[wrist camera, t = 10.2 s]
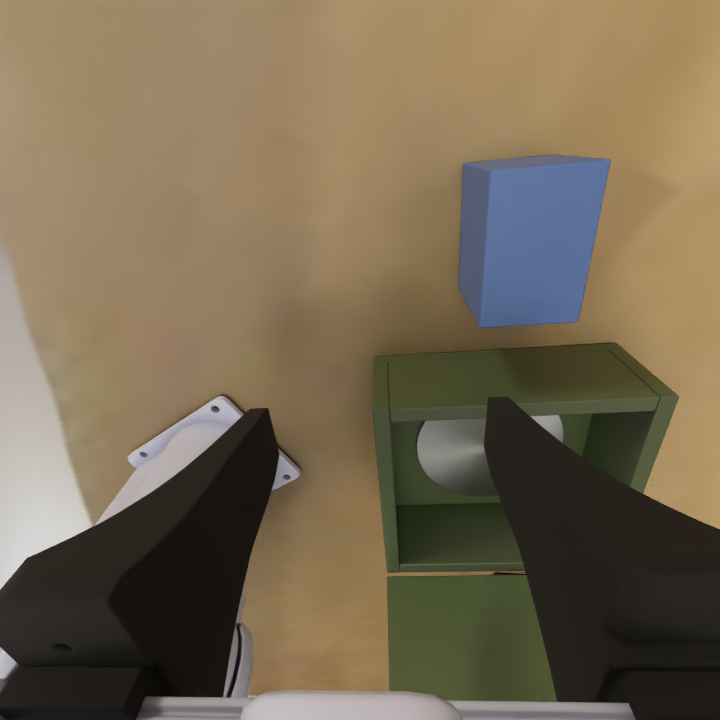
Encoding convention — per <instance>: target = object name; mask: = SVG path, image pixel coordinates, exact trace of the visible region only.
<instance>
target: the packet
mask: <svg viewBox="0 0 720 720" xmlns="http://www.w3.org/2000/svg"><path fill="white" fill-rule="evenodd" d="M610 162H611V161H610V159H602V158H589V157H576V156H563V155H544V156H533V157H523V158H512V159H502V160H491V161H481V162H470V163H464V164H463V181H462V208H461V236H460V263H459V290H460V292H461V294H462V296H463V298H464V300H465V301H466V303H467V305H468V307H469V309H470V311H471V312H472V314H473V316H474V318H475V320H476V322H477V324H478V325H479V327H480V328H489V327H506V326H522V325H538V324H554V323H571V322H578V320H579V315H580V311H581V306H582V301H583V296H584V291H585V286H586V281H587V276H588V271H589V266H590V261H591V256H592V251H593V246H594V241H595V236H596V231H597V226H598V221H599V216H600V211H601V206H602V201H603V196H604V191H605V186H606V181H607V176H608V171H609V167H610Z"/></svg>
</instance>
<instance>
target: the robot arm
mask: <svg viewBox="0 0 720 720" xmlns="http://www.w3.org/2000/svg"><path fill="white" fill-rule="evenodd" d="M214 406H217V407H218V408H219V409H216V408H215V407H214ZM484 450H485V454H486V458H487V463H488V466H489V470H490V474H491V477H492V480H493V482H494V485H495V488H496V490H497V493H498V496H499V498H500V501H501V503H502V506H503V508H504V511H505V513H506V516H507V519H508V521H509V524H510V526H511V529H512V531H513V534H514V537H515V539H516V542H517V545H518V548H519V551H520V554H521V558H522V561H523V565H524V569H525V572H526V576H527V579H528V583H529V587H530V590H531V594H532V598H533V602H534V606H535V610H536V613H537V617H538V621H539V625H540V629H541V634H542V638H543V642H544V646H545V650H546V654H547V658H548V663H549V667H550V672H551V676H552V680H553V685H554V689H555V694H556V698H557V702H527V701H451V700H443V699H441V698H439V697H437V696H435V695H431V694H424V693H416V692H409V691H336V690H282V691H273V692H265V693H262V694H260V695H259V696H257V697H255V698H247V697H248V694H249V690H250V685H251V680H252V673H253V641H252V636H251V632H250V630H249V628H248V627H247V626H246V625H245V624H243V623H241V622H239V621H240V618H241V614H242V611H243V607H244V604H245V600H246V599H245V598H244V597H243V596H241V595H242V590H243V585H244V581H245V576H246V572H247V568H248V563H249V559H250V555H251V552H252V548H253V545H254V541H255V539H256V536H257V533H258V530H259V527H260V524H261V521H262V518H263V515H264V512H265V509H266V506H267V503H268V500H269V497H270V494H271V491H273V490H275V489H277V488H279V487H281V486H283V485H285V484H287V483H289V482H291V481H293V480H295V479H297V478H298V477H299V475H300V469H299V468H298V467H297V466H296V465H295V464H294V463H293V462H292V461H291V460H290V459H289V458H288V457H287V456H286V455H285V454H284V453H283V452H282V451H281V450H280V449H279V448H278V446H277V442H276V438H275V434H274V430H273V426H272V422H271V418H270V414H269V410H268V408H256V409H250V410H248V411H247V412H246V413H245V414H243V413H242V412H241V411H240V410H239V409H238V408H237V407H236V406H235V405H234V404H233V403H232V402H231V401H230V400H229V399H228V398H226V397H224V396H219V397H217V398H215V399H214V400H212V401H210V402H209V403H207V404H206V405H204V406H203V407H201V408H200V409H198V410H197V411H195V412H193V413H192V414H190V415H189V416H187V417H186V418H184V419H183V420H181V421H179V422H178V423H176V424H175V425H173V426H172V427H170V428H169V429H167V430H166V431H164V432H162V433H161V434H159V435H158V436H156V437H155V438H153V439H152V440H150V441H149V442H147V443H145V444H144V445H142V446H141V447H139V448H138V449H136V450H135V451H133V452H131V454H130V455H129V456H128V461H129V462H130V463H131V464H132V465H133V466H134V467H136V468H137V469H136V470H135V471H134V473H133V474H132V475H131V477H130V478H129V480H128V481H127V482H126V484H125V485H124V486H123V488H122V489H121V490H120V492H119V493H118V494H117V496H116V497H115V498H114V500H113V501H112V502H111V504H110V505H109V507H108V508H107V509H106V511H105V512H104V513H103V515H102V516H101V517H100V519H99V520H98V521H97V523H96V524H95V525H94V526H93V527H91V528H89V529H88V530H86V531H84V532H82V533H80V534H78V535H76V536H74V537H72V538H70V539H68V540H65V541H64V542H61V543H59V544H57V545H55V546H53V547H50V548H48V549H46V550H44V551H42V552H40V553H38V554H36V555H33V556H31V557H28V558H27V559H26V560H25V561H24V563H23V564H22V565H21V566H20V567H19V568H18V570H17V571H16V572H15V573H14V574H13V575H12V577H11V578H10V579H9V580H8V581H7V583H6V584H5V585H4V586H3V587H2V588H1V590H0V720H720V529H717V528H715V527H712V526H710V525H707V524H705V523H703V522H700V521H698V520H696V519H694V518H692V517H689V516H687V515H685V514H683V513H681V512H678V511H676V510H674V509H672V508H670V507H668V506H666V505H664V504H662V503H660V502H658V501H656V500H654V499H652V498H650V497H648V496H646V495H644V494H642V493H640V492H639V491H637V490H635V489H633V488H631V487H629V486H627V485H626V484H624V483H622V482H620V481H619V480H617V479H615V478H614V477H612V476H610V475H609V474H607V473H606V472H604V471H602V470H601V469H599V468H598V467H596V466H594V465H593V464H591V463H590V462H588V461H587V460H585V459H584V458H582V457H581V456H580V455H578V454H577V453H576V452H574V451H573V450H571V449H570V448H569V447H567V446H566V445H565V444H563V443H562V442H561V441H559V440H558V439H557V438H556V437H554V436H553V435H552V434H551V433H549V432H548V431H547V430H546V429H544V428H543V427H542V426H541V425H540V424H538V423H537V422H536V421H535V420H534V419H533V418H532V417H530V416H529V415H528V414H527V413H526V412H525V411H524V410H522V409H521V408H520V407H519V406H518V405H517V404H516V403H515V402H513V401H512V400H511V399H510V398H509V397H488V403H487V415H486V426H485V438H484ZM286 474H287V475H289V476H287V475H286Z"/></svg>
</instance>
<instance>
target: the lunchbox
mask: <svg viewBox="0 0 720 720" xmlns="http://www.w3.org/2000/svg"><path fill="white" fill-rule="evenodd" d="M488 397H509V398H510V399H511V400H512V401H513V402H515V403H516V404H517V405H518V406H519V407H520V408H521V409H522V410H524V411H525V412H526V413H527V414H528V415H529V416H550V415H559V416H560V419H561V421H562V425H563V430H564V438H563V444H565V445H566V446H567V447H569V448H570V449H571V450H573V451H574V452H576V453H577V454H578V455H580V456H581V457H582V458H584V459H585V460H587V461H588V462H590V463H591V464H593V465H594V466H596V467H598V468H599V469H601V470H602V471H604V472H606V473H607V474H609V475H610V476H612V477H614V478H615V479H617V480H619V481H620V482H622V483H624V484H626V485H627V486H629V487H631V488H633V489H635V490H637V491H639V492H640V493H642V494H643V492H644V489H645V486H646V484H647V481H648V478H649V476H650V473H651V470H652V468H653V465H654V462H655V460H656V457H657V454H658V452H659V449H660V446H661V444H662V441H663V438H664V436H665V433H666V430H667V428H668V425H669V422H670V420H671V417H672V414H673V412H674V409H675V406H676V404H677V401H678V398H679V396H678V395H677V394H676V393H675V392H673V391H672V390H671V389H670V388H669V387H667V386H666V385H665V384H664V383H663V382H662V381H660V380H659V379H658V378H657V377H656V376H654V375H653V374H652V373H651V372H650V371H649V370H647V369H646V368H645V367H644V366H643V365H641V364H640V363H639V362H638V361H637V360H636V359H634V358H633V357H632V356H631V355H630V354H629V353H627V352H626V351H625V350H623V348H621V347H620V346H619V345H618V344H617V343H604V344H586V345H569V346H551V347H534V348H516V349H499V350H481V351H464V352H446V353H429V354H411V355H394V356H376V357H374V369H373V421H374V433H375V444H376V455H377V466H378V477H379V488H380V499H381V511H382V522H383V533H384V544H385V555H386V566H387V572H388V573H393V572H459V571H525V569H524V565H523V561H522V558H521V554H520V551H519V548H518V545H517V542H516V539H515V537H514V534H513V531H512V529H511V526H510V524H509V521H508V519H507V516H506V513H505V511H504V508H503V506H502V503H501V501H500V498H499V496H498V495H493V496H470V495H464V494H459V493H456V492H453V491H450V490H448V489H445V488H443V487H442V486H440V485H438V484H437V483H435V482H434V481H433V480H432V479H431V478H430V477H429V476H428V475H427V474H426V473H425V471H424V470H423V469H422V467H421V465H420V463H419V460H418V456H417V449H416V442H417V436H418V432H419V429H420V427H421V424H422V423H423V421H435V420H458V419H481V418H486V415H487V403H488Z"/></svg>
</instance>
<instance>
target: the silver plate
mask: <svg viewBox="0 0 720 720" xmlns="http://www.w3.org/2000/svg"><path fill="white" fill-rule="evenodd" d="M530 417H532V418H533V419H534V420H535V421H536V422H537V423H538V424H540V425H541V426H542V427H543V428H544V429H546V430H547V431H548V432H549V433H551V434H552V435H553V436H554V437H556V438H557V439H558V440H559V441H561V442H562V443H563V438H564V430H563V425H562V421H561V419H560V416H559V415H550V416H530ZM485 426H486V418H481V419H458V420H435V421H423V423H422V424H421V427H420V429H419V432H418V436H417V442H416V449H417V456H418V460H419V463H420V465H421V467H422V469H423V470H424V471H425V473H426V474H427V475H428V476H429V477H430V478H431V479H432V480H433V481H434V482H435V483H437V484H438V485H440V486H442V487H443V488H445V489H448V490H450V491H453V492H456V493H459V494H464V495H470V496H493V495H498V493H497V490H496V488H495V485H494V482H493V480H492V477H491V474H490V470H489V466H488V463H487V458H486V454H485V450H484V438H485Z"/></svg>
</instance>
